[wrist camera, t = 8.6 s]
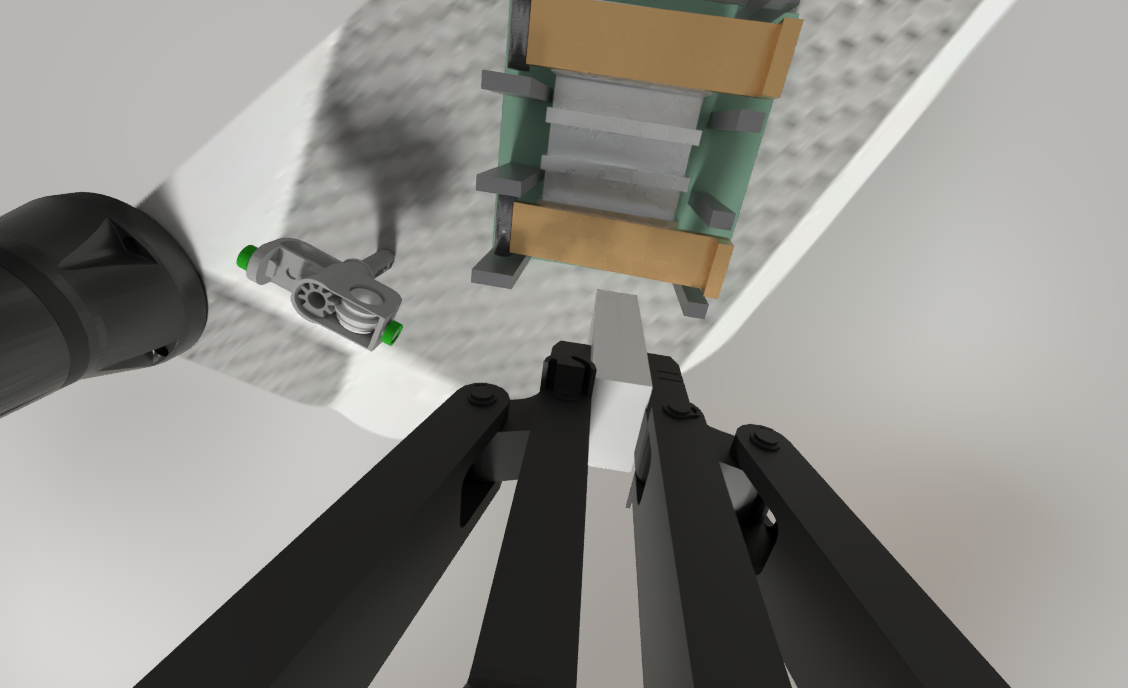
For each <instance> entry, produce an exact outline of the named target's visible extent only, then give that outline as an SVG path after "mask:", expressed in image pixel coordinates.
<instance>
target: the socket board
mask: <svg viewBox="0 0 1128 688" xmlns="http://www.w3.org/2000/svg"><path fill="white" fill-rule="evenodd" d="M604 1H611V2H617V3H624V4H631V5H638V6H644V7H651V8H658V9H665V10H673V11H681V12H689V13H697V14H704V15H712V16H720V17H728V18H734V17H735V14H736V13H737V12H738V11H740V10H741V9H742V8H743V7H744V6H740V5H734V4H727V3H720V2H713V1H706V0H604ZM511 3H512V0H510V7H509V21H508V35H507V50H506V64H505V73H507V74H514V75H520V76H527V77H532V78H534V79H536V80H537V81H539V82H541V83H543V84H545V85H546V86H548V87H550V88H552V89H553V93H552V102H551V103H549V102H542V101H536V100H529V99H523V98H516V97H512V96H508V95H504V94H503V106H502V120H501V134H500V148H499V162H498V166H501V165H504V164H507V163H509V162H512V163H518V164H524V165H530V166H537V167H541V159H542V155H543V154H545V153H547V152H548V143H549V135H550V126H551V123H548V122H546V113H547V107H552V108H553V100H554V91H555V82H556V75H555V74H554V73H553V72H552V71H551V68H544V67H537V66H530V72H525V71H518V70H513V69H508V68H507V58H508V45H509V31H510V17H511ZM785 17H787V18H795V19H798V17H799V14H795V13H788V12H786V13H785V14H783V15H782V16H780V17H779V18H777V19H775V20H774V21H772V22H771V23H774V24H778V23H779V22H780V21H781V20H782V19H783V18H785ZM772 103H773V99H772V100H764V99H757V98H750V97H743V96H736V95H730V94H723V93H716V92H712V94H711V96H708V97H704V98H703V101H702V105H701V110H700V114H699V118H698V122H697V126H696V130H700V131H702V134H701V138H700V142H699V146H695V145H692V147H691V151H690V155H689V159H688V163H687V167H686V171H685V175H686V176H688V177H689V178H690V182H689V187H688V191H687V192H682V191H681V192H680V196H679V200H678V204H677V209H676V213H675V216H676V217H677V219H678V221H679V222H680V223H679V227H678V229H683V230H688V231H694V232H699V233H705V234H711V235H716V236H722V237H728V238H729V239H730V241H731V238H732V235H733V232H734V228H735V225H736V222H737V218H738V215H739V212H740V209H741V205H742V202H743V199H744V195H745V192H746V189H747V185H748V182H749V179H750V176H751V172H752V169H753V166H754V162H755V159H756V156H757V152H758V149H759V146H760V142H761V139H762V136H763V133H764V129H765V126H766V123H767V119H768V116H769V113H770V109H771V106H772ZM737 109H745V110H751V111H758V112H764V113H766V116H765V119H764V122H763V126H762V129H761V132H760V133H750V132H736V131H723V130H717V129H710V128H707V125H708V121H709V117H710V113H711V112H719V111H728V110H737ZM544 178H545V170H544V173H543V180H542V181H541V182H539V183H538V184H537V185H535V186H534V187H533V188H532V189H530V190H529V191H528V192H526V193H525V194H524V195H523V196H521V197H518V200H519V201H525V202H530V203H536V204H537V199H538V198H539V197H540V196H541V195H542V194H543V187H544ZM691 190H692V191H698V192H705V193H709V194H710V195H712V196H713V197H714V198H716V199H717V200H718V201H720V202H721V203H722V204H724V205H725V206H726V207H728V208H729V209H730V210H732V211H733V212H734V213H736V216H735V219H734V222H733V226H732V229H731V231H729V230H723V229H717V228H710V227H708V226H707V225H706V224H705V223H704V221H703V220H702V219H701V218H700V217H699V216H698V215H697V214H696V213H695V211H694V210H693V209H692V208H691V207H690V206H689V205H688V200H689V196H690V192H691ZM497 196H498V194H496V204H495V218H494V233H493V247H494V238H495V224H496V210H497ZM493 247H492V248H493ZM531 258H532V259H538V260H544V261H550V262H556V263H562V264H568V265H574V264H569V263H564V262H558V261H553V260H548V259H543V258H537V257H531ZM574 266H579V265H574ZM580 267H585V266H580ZM586 268H590V267H586ZM592 269H595V268H592ZM598 270H601V269H598ZM604 271H606V270H604ZM610 272H611V271H610Z"/></svg>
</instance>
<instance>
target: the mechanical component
mask: <svg viewBox="0 0 1128 688" xmlns="http://www.w3.org/2000/svg"><path fill="white" fill-rule="evenodd" d="M393 261H394V256H393V254H392V253H391V252H390V251H388V250H380V251H378V252H376V253H375V254H373V255H371V256H369V257H367V258H365V259H364V260H362V261H361V260H359V259H347V260H345V261H344V262H341V261H339V260H337V259H336V258H334V257H332V256H330V255H328V254H326V253H325V252H323V251H321V250H319V249H317V248H315V247H313V246H312V245H310V244H308V243H306V242H303V241H301V240H297V239H293V238H280V239H277V240H274V241H271V242H268V243H265V244H263V245H262V246H260V247H259V248H257V247H255V246H253V245H248V246H246V247H245V248H244V249H243V250H242V251H241V252H240V254H239V255H238V258H237V265H238V266H239V267H240V268H242V269H244V270H246V275H247V277H248V279H250V280H252V281H253V282H255V283H257V284H259V285H263V284H266V283H268V282H270V281H271V282H273V283H275V284H277V285H279V286H280V287H282V288H284V289H286V290H288V291H290V292H292V295H291V302H292V305H293V307H294V308H295V310H296V311H297V313H298V314H299V315H300V316H302V317H303V318H304V319H306V320H308V321H309V322H312V323H316V324H319V325H321V326H323V327H325V328H327V329H329V330H331V331H333V332H335V333H337V334H339V335H341V336H343V337H344V338H346V339H348V340H350V341H352V342H354V343H356V344H358V345H360V346H362V347H364V348H366V349H368V350H370V351H371V352H372V351H373V350H374V349H375V348H376V347H377V346H378V345H379V344H380V343H381V342H384V343H386V344H388V345H390V346H391V345H393V343H394V342H395V341H396V339H397V338H398V336H399V335H400V333H401V330H402V328H403V325H402V324H400V323H398V322H396V321H394V318H395V316H396V314H397V311H398V309H399V306H400V304H401V301H402V298H401V296H400V295H399V294H398V293H397V292H396V291H394V290H393V289H391V288H389V287H387V286H385V285H384V284H382V283H380V282H378V281H376V280H375V278H376V277H378V276H379V275H381V274H382V273H384V272H385V271H387V270H388V269H390V268H391V267H392V266H390V264H391V263H392V262H393ZM339 321H340V322H341V323H342V324H343V325H345V326H346V327H348V328H350V329H352V330H355V331H359V332H371V333H368V334H359V333H354V332H351V331H349V330H347V329H346V328H344V327H343V326H342V325H341V324H340V322H339Z"/></svg>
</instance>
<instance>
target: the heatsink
mask: <svg viewBox="0 0 1128 688" xmlns="http://www.w3.org/2000/svg"><path fill="white" fill-rule="evenodd" d="M595 1H603V2H611V1H604V0H595ZM611 3H617V2H611ZM619 4H624V3H619ZM626 5H631V4H626ZM634 6H638V5H634ZM642 7H644V6H642ZM650 8H651V7H650ZM551 71H552V72H553V73H554V74H555V75H556V82H555V91H554V100H553V108H552V107H547V113H546V122H548V123H551V126H550V135H549V143H548V152H547V153H545V154H543V155H542V159H541V168H540V169H544V170H545V178H544V187H543V194H542V195H541V196H540V197H539V198H538V199H537V204H542V205H547V206H553V207H558V208H564V209H570V210H575V211H581V212H587V213H592V214H598V215H604V216H609V217H615V218H620V219H626V220H632V221H637V222H643V223H649V224H654V225H660V226H666V227H671V228H677V229H678V227H679V223H680V222H679V221H678V219H677V217H676V216H675V213H676V209H677V204H678V200H679V196H680V192H681V191H682V192H687V191H688V187H689V182H690V178H689V177H688V176H686V175H685V171H686V167H687V163H688V159H689V155H690V151H691V147H692V145H695V146H699V142H700V138H701V134H702V131H700V130H696V126H697V122H698V118H699V114H700V110H701V105H702V101H703V98H704V97H708V96H711V94H712V92H709V91H702V90H695V89H688V88H681V87H675V86H668V85H661V84H654V83H647V82H640V81H633V80H626V79H620V78H613V77H606V76H599V75H592V74H585V73H578V72H571V71H565V70H558V69H551Z"/></svg>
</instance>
